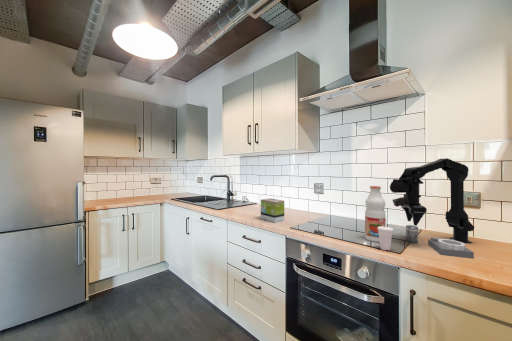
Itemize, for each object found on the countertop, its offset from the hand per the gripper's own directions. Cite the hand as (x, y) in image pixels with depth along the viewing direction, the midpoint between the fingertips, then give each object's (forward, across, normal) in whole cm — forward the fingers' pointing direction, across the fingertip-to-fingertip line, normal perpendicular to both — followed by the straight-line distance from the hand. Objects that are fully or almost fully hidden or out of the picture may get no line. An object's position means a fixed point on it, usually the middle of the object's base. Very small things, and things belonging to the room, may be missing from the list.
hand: (412, 223), depth 110 cm
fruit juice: (+10, +2, -17) cm, 20 cm away
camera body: (+10, +8, +12) cm, 17 cm away
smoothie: (+10, +16, -15) cm, 24 cm away
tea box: (+10, -21, -79) cm, 82 cm away
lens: (+10, 0, 0) cm, 10 cm away
